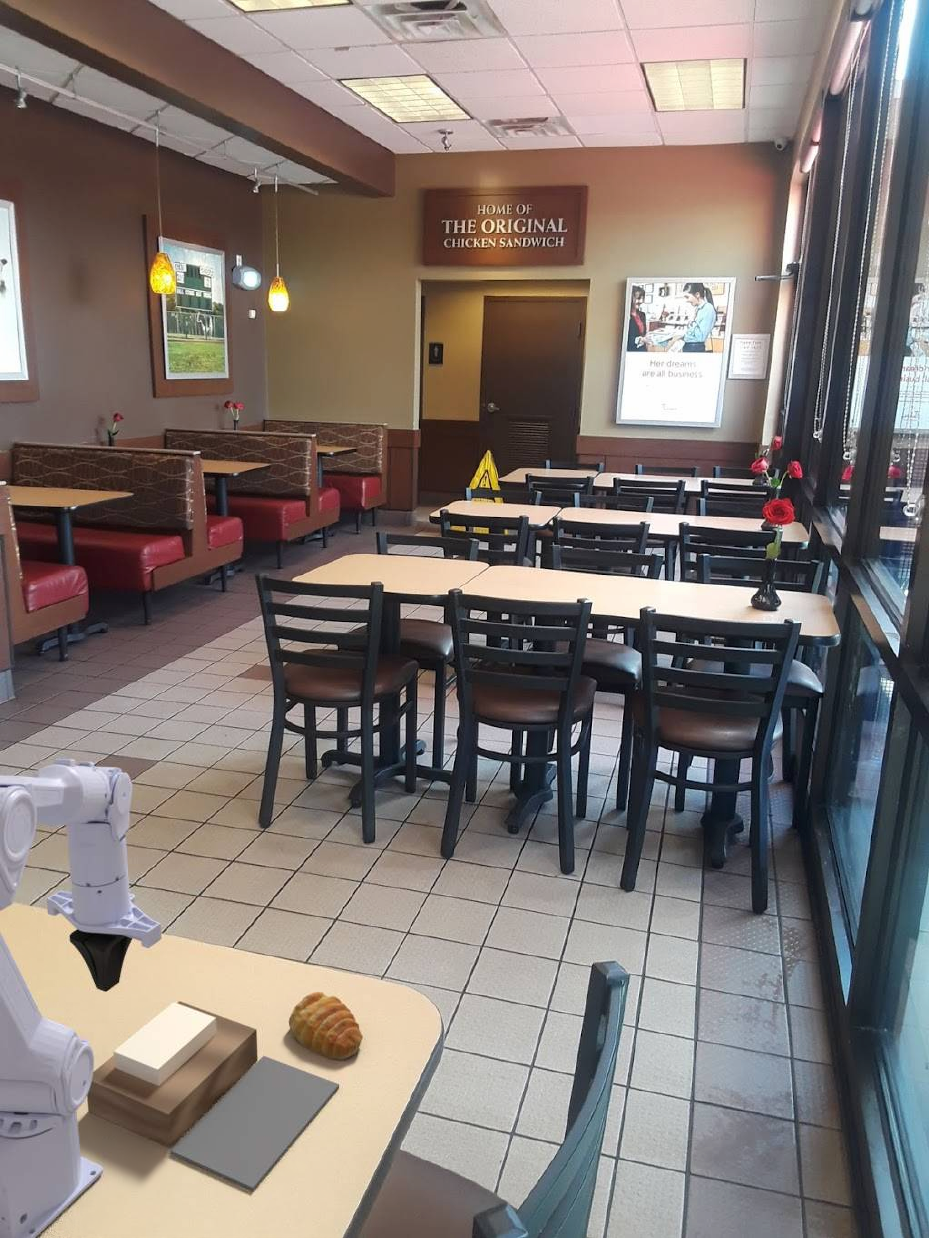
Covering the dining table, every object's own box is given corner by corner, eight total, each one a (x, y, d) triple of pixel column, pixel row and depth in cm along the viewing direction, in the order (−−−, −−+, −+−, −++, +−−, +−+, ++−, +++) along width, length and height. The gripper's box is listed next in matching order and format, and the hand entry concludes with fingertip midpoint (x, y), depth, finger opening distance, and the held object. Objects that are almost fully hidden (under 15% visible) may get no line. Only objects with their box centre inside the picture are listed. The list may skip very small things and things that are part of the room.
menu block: (158, 1086, 95) (157, 1069, 94) (114, 1067, 97) (113, 1051, 97) (216, 1033, 103) (216, 1017, 102) (174, 1017, 105) (173, 1001, 104)
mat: (253, 1191, 87) (253, 1187, 87) (170, 1153, 91) (170, 1150, 91) (339, 1087, 100) (339, 1084, 100) (263, 1058, 104) (263, 1055, 104)
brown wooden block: (170, 1148, 92) (168, 1114, 91) (88, 1111, 96) (85, 1078, 95) (257, 1059, 104) (256, 1029, 103) (181, 1030, 109) (179, 1000, 108)
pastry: (377, 1044, 108) (377, 1016, 107) (330, 1074, 103) (330, 1044, 102) (327, 1007, 114) (327, 980, 113) (282, 1033, 109) (280, 1005, 108)
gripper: (178, 872, 99) (184, 983, 102) (78, 842, 105) (87, 948, 108) (129, 903, 93) (138, 1021, 96) (26, 870, 99) (37, 982, 102)
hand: (108, 985), depth 102 cm, fingers closed
